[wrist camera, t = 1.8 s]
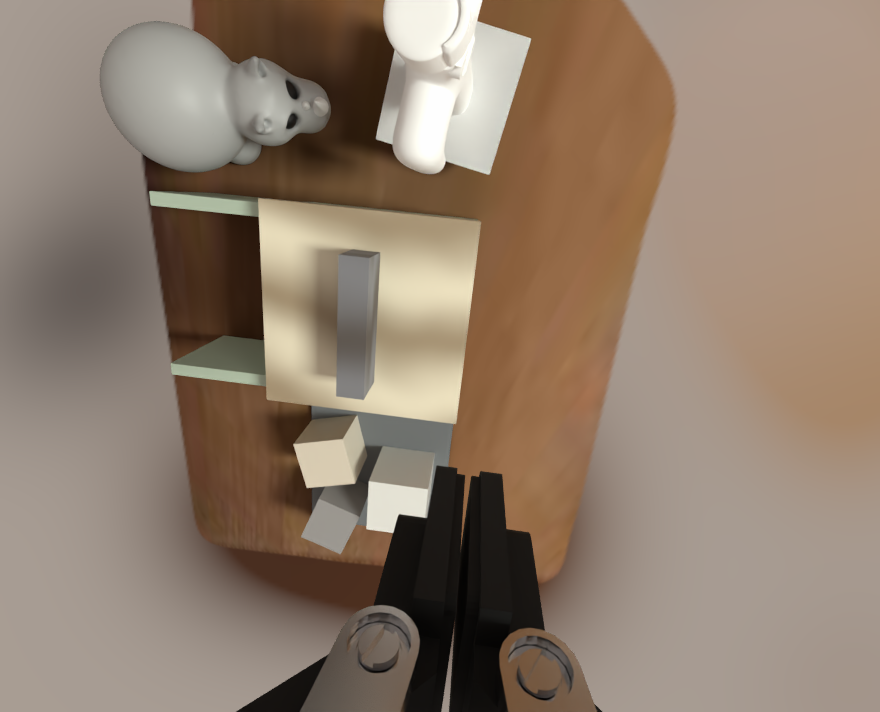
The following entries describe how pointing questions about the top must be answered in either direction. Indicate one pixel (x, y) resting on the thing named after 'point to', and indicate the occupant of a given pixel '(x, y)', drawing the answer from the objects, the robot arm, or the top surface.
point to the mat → (391, 442)
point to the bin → (226, 353)
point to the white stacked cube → (399, 487)
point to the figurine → (447, 84)
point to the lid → (366, 307)
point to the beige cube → (331, 451)
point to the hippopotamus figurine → (202, 99)
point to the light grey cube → (336, 515)
